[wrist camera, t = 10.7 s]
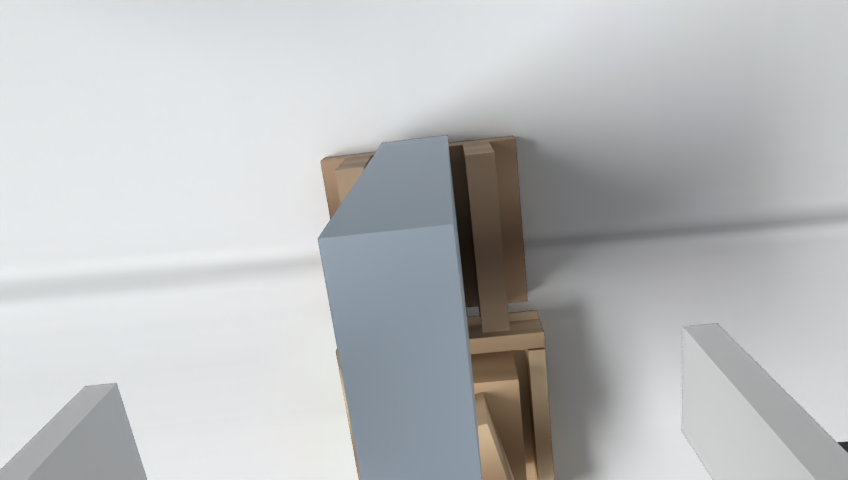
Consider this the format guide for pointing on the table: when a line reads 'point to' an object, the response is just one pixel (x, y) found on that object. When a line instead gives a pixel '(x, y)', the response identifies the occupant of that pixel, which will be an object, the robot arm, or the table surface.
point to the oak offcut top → (490, 444)
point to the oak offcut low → (502, 403)
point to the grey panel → (403, 317)
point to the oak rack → (532, 384)
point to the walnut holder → (470, 220)
